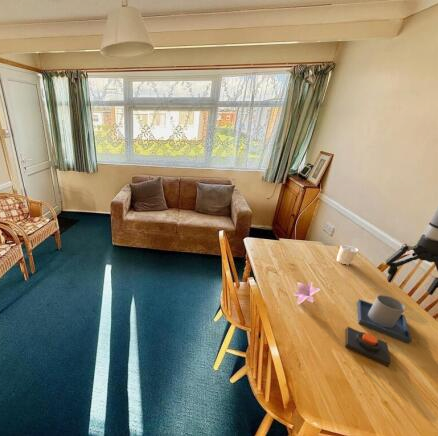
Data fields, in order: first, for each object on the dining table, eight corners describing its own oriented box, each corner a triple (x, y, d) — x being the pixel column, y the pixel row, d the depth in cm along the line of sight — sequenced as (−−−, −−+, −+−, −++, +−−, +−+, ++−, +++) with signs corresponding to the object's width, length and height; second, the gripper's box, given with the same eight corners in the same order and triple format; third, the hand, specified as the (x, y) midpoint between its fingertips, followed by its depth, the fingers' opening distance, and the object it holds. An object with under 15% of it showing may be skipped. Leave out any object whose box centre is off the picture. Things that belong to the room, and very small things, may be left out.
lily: (296, 289, 118) (291, 277, 115) (324, 292, 110) (320, 278, 106) (294, 309, 111) (289, 296, 107) (324, 313, 103) (319, 300, 99)
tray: (402, 319, 100) (404, 315, 99) (408, 344, 89) (411, 339, 88) (357, 302, 109) (358, 299, 108) (358, 323, 98) (360, 319, 97)
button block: (384, 346, 88) (389, 339, 87) (387, 367, 81) (393, 359, 79) (345, 330, 95) (348, 323, 93) (345, 347, 88) (349, 340, 86)
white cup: (343, 258, 142) (349, 244, 138) (355, 265, 135) (361, 251, 131) (331, 258, 142) (337, 244, 137) (342, 266, 134) (348, 252, 130)
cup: (364, 316, 100) (373, 299, 96) (372, 309, 104) (381, 292, 100) (389, 331, 94) (400, 313, 89) (397, 322, 97) (408, 305, 93)
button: (375, 340, 87) (377, 336, 86) (376, 347, 84) (378, 344, 83) (361, 334, 89) (363, 331, 88) (362, 341, 86) (363, 338, 86)
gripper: (486, 244, 77) (449, 294, 86) (391, 225, 90) (368, 270, 99) (496, 254, 72) (456, 306, 81) (394, 232, 85) (370, 279, 94)
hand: (408, 286), depth 90 cm, fingers open, 11 cm apart
